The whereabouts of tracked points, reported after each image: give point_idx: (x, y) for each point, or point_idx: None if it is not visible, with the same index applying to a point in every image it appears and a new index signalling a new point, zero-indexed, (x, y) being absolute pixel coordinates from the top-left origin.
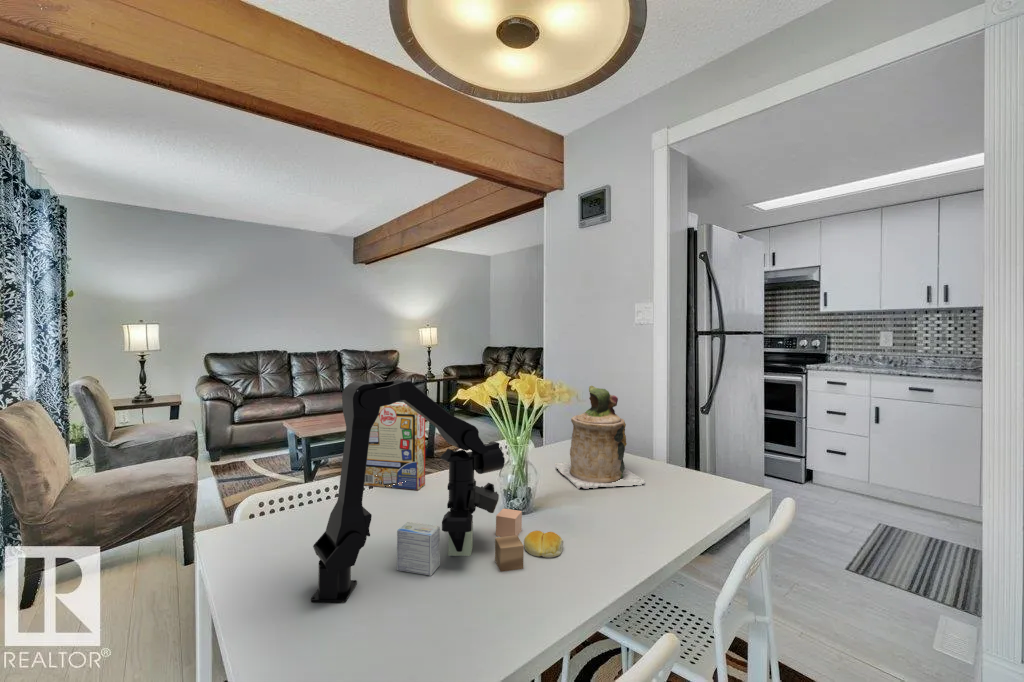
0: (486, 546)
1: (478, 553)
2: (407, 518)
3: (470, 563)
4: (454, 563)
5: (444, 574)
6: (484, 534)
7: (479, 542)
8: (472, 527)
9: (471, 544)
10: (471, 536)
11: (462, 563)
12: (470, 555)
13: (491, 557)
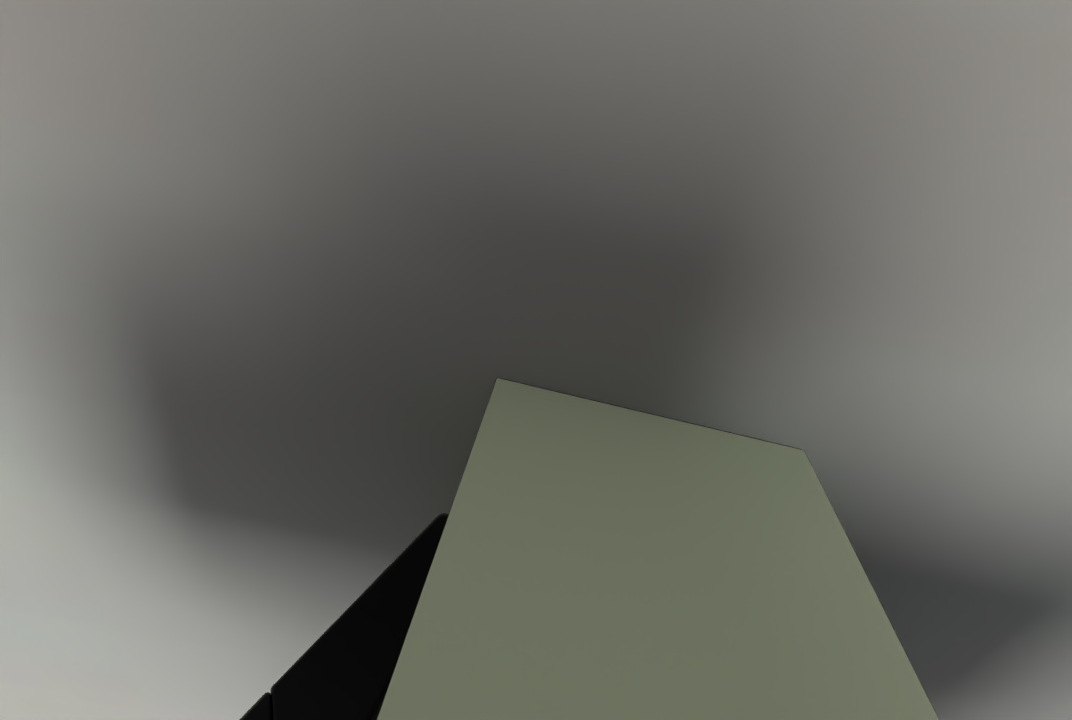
0: (581, 175)
1: (781, 346)
2: (9, 712)
3: (1014, 487)
4: (894, 613)
5: (1060, 704)
6: (119, 131)
7: (420, 269)
8: (510, 707)
9: (722, 508)
10: (789, 668)
11: (948, 556)
12: (806, 457)
13: (1054, 153)
